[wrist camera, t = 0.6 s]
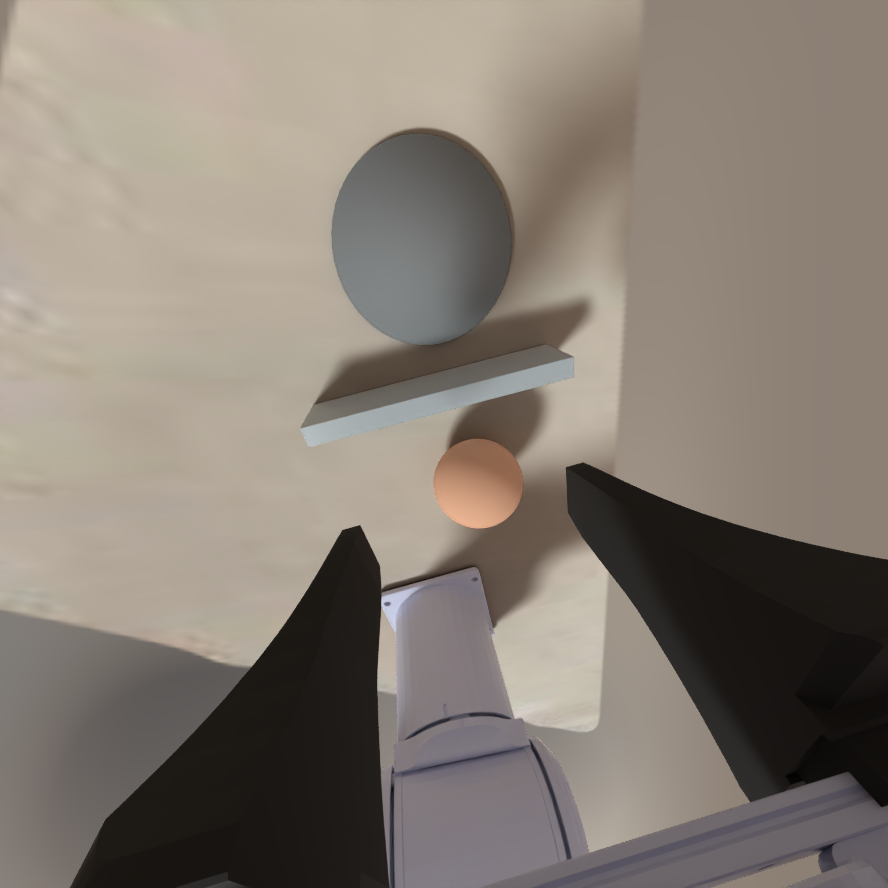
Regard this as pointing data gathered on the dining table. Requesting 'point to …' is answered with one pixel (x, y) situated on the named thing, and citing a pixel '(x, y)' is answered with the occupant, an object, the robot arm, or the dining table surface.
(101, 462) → the dining table surface
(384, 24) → the dining table surface
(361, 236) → the pad
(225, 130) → the dining table surface
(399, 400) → the acrylic wall
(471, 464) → the terracotta ball
